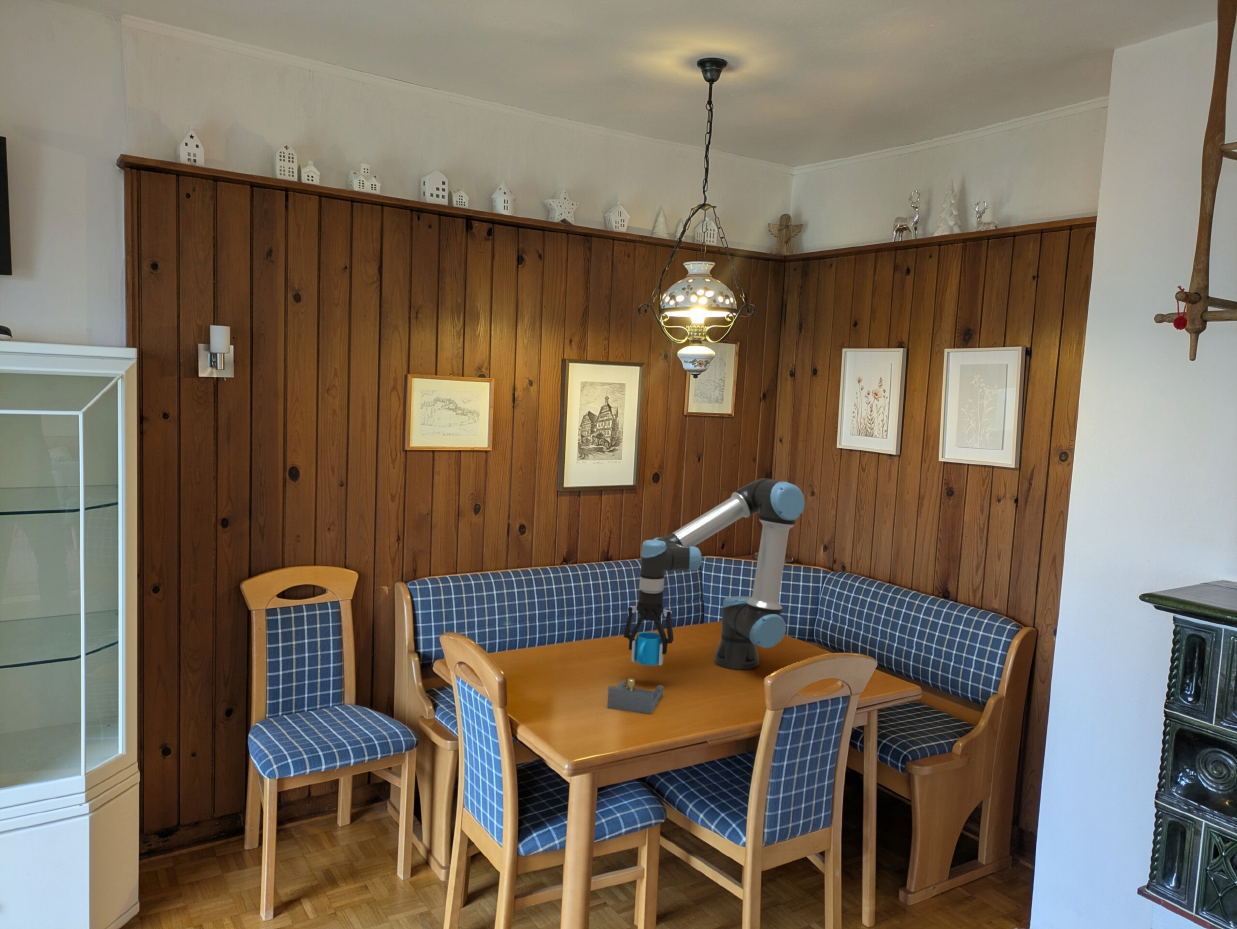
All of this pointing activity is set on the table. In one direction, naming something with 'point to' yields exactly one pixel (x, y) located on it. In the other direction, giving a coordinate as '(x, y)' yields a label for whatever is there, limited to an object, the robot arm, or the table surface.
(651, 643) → the mug
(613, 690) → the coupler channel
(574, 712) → the table surface
